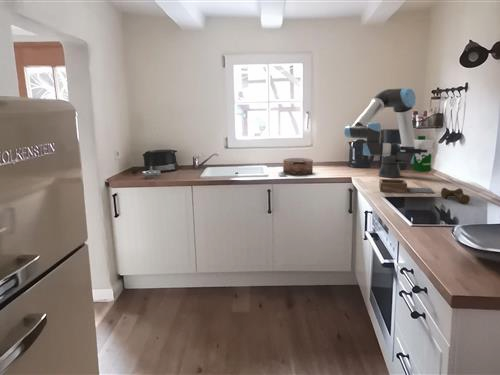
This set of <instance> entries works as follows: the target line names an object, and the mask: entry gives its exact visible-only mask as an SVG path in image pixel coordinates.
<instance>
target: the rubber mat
mask: <svg viewBox="0 0 500 375" xmlns="http://www.w3.org/2000/svg"><path fill="white" fill-rule="evenodd" d="M407 191H408V192H409V193H411V194H412V193H413V194H414V193H415V194H432V195H433V194H435V192H434V190H433V189H432V188H430V187H413V186H412V187H411V186H410V187H409V186H407Z"/></svg>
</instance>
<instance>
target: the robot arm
mask: <svg viewBox="0 0 500 375" xmlns="http://www.w3.org/2000/svg"><path fill="white" fill-rule="evenodd" d="M416 99H417V98H416V94H415V91H414V89H412V88H407V87H404V88H387V89H384V90H382V91H380V92H379V93H378V94H376V95H375V96H374V97H373V98H372V99H371V100H370V102H369V105H368V106H367V107H366V109H364V111H363V112H362V113H361V114H360V115H359V117H357V119H356V120H355V122H353V123H352V125H347V126H345V127H344V132H343V133H344V136H345V137H346V138H349V139H365V140H366V142H364V143H363V144H362V155H363V156H369V157H373V156H375V157H376V156H377V157H381V165H380V169H379V172H378V177H381V178H390V177H392V178H393V177H395V178H401V177H400V176H401V174H402V173H401V169H400V163H403V164H411V165H413V162H414V153H416V154H419V155H421V153H425V154H431V155H432V154H434V148H432V149H415V146H414V140H416V139H415V132H414V131H415V130H414V126H413V125H414V124H413V118H412V110H413V108H414V106H415V105H416ZM387 108H393V112H395V113H396V116H397V123H398V124H397V125H398V130H399V136H400V141H401V142H400V143H401V144H400V143H396V142H394V143H393V142H392V143H389V142H382V143H381V142H380V141H381V131H382V130H381V128H382V127H381V126H382V125H381V123H380V122H372V121H373V119H375V117H376V116H377V115H378V113H379V112H382V111H383V110H384V109H387ZM392 178H391V179H392Z"/></svg>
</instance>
